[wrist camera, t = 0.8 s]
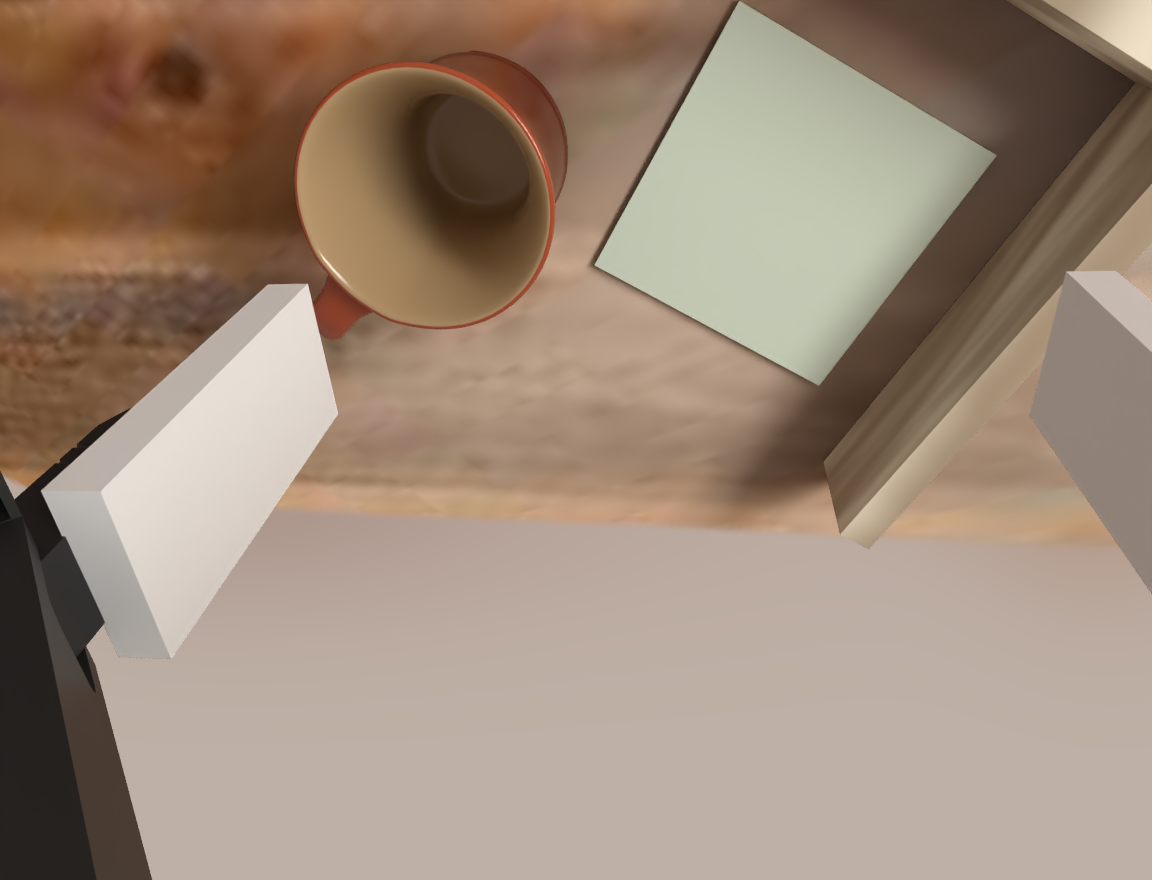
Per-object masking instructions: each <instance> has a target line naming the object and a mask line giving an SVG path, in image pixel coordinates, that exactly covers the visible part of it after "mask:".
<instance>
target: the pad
mask: <svg viewBox="0 0 1152 880" xmlns="http://www.w3.org/2000/svg"><path fill="white" fill-rule="evenodd" d="M996 156H997V155H995V154H994V153H992V152H991V151H989V150H987V149H986V148H984V147H982V146H981V145H979V144H977V143H976V142H974V141H972V140H971V139H969V138H967V137H966V136H964V135H962V134H961V133H959V132H957V131H956V130H954V129H952V128H951V127H949V126H947V125H946V124H944V123H942V122H941V121H939V120H937V119H936V118H934V117H932V116H931V115H929V114H927V113H926V112H924V111H922V110H921V109H919V108H917V107H916V106H914V105H912V104H911V103H909V102H907V101H906V100H904V99H902V98H901V97H899V96H897V95H896V94H894V93H893V92H891V91H889V90H888V89H886V88H884V87H883V86H881V85H879V84H878V83H876V82H874V81H873V80H871V79H869V78H868V77H866V76H864V75H863V74H861V73H859V72H858V71H856V70H854V69H853V68H851V67H849V66H848V65H846V64H844V63H843V62H841V61H839V60H838V59H836V58H834V57H833V56H831V55H829V54H828V53H826V52H824V51H823V50H821V49H819V48H818V47H816V46H814V45H813V44H811V43H809V42H808V41H806V40H804V39H803V38H801V37H799V36H798V35H796V34H794V33H793V32H791V31H789V30H788V29H786V28H784V27H783V26H781V25H779V24H778V23H776V22H774V21H773V20H771V19H769V18H768V17H766V16H764V15H763V14H761V13H759V12H758V11H756V10H754V9H753V8H751V7H749V6H748V5H746V4H744V3H743V2H741V1H738V3H737V5H736V7H735V9H734V10H733V12H732V14H731V16H730V18H729V20H728V21H727V23H726V25H725V27H724V29H723V31H722V32H721V34H720V36H719V38H718V40H717V41H716V43H715V45H714V47H713V49H712V51H711V52H710V54H709V56H708V58H707V60H706V62H705V63H704V65H703V67H702V69H701V71H700V73H699V74H698V76H697V78H696V80H695V82H694V83H693V85H692V87H691V89H690V91H689V93H688V94H687V96H686V98H685V100H684V102H683V104H682V105H681V107H680V109H679V111H678V113H677V115H676V116H675V118H674V120H673V122H672V124H671V125H670V127H669V129H668V131H667V133H666V135H665V136H664V138H663V140H662V142H661V144H660V146H659V147H658V149H657V151H656V153H655V155H654V157H653V158H652V160H651V162H650V164H649V166H648V167H647V169H646V171H645V173H644V175H643V177H642V178H641V180H640V182H639V184H638V186H637V188H636V189H635V191H634V193H633V195H632V197H631V199H630V200H629V202H628V204H627V206H626V208H625V209H624V211H623V213H622V215H621V217H620V219H619V220H618V222H617V224H616V226H615V228H614V230H613V231H612V233H611V235H610V237H609V239H608V241H607V242H606V244H605V246H604V248H603V250H602V251H601V253H600V255H599V257H598V259H597V261H596V262H595V266H597V267H598V268H600V269H602V270H604V271H606V272H608V273H610V274H611V275H613V276H615V277H617V278H619V279H621V280H623V281H625V282H626V283H628V284H630V285H632V286H634V287H636V288H638V289H639V290H641V291H643V292H645V293H647V294H649V295H651V296H652V297H654V298H656V299H658V300H660V301H662V302H664V303H666V304H667V305H669V306H671V307H673V308H675V309H677V310H679V311H680V312H682V313H684V314H686V315H688V316H690V317H692V318H693V319H695V320H697V321H699V322H701V323H703V324H705V325H707V326H708V327H710V328H712V329H714V330H716V331H718V332H720V333H721V334H723V335H725V336H727V337H729V338H731V339H733V340H734V341H736V342H738V343H740V344H742V345H744V346H746V347H748V348H749V349H751V350H753V351H755V352H757V353H759V354H761V355H762V356H764V357H766V358H768V359H770V360H772V361H774V362H775V363H777V364H779V365H781V366H783V367H785V368H787V369H789V370H790V371H792V372H794V373H796V374H798V375H800V376H802V377H803V378H805V379H807V380H809V381H811V382H813V383H815V384H816V385H818V386H819V385H820V384H821V383H822V381H823V380H824V379H825V377H826V376H827V375H828V374H829V372H830V371H831V370H832V368H833V367H834V366H835V365H836V363H837V362H838V361H839V359H840V358H841V357H842V355H843V354H844V353H845V352H846V350H847V349H848V348H849V346H850V345H851V344H852V342H853V341H854V340H855V339H856V337H857V336H858V335H859V333H860V332H861V331H862V330H863V328H864V327H865V326H866V324H867V323H868V322H869V320H870V319H871V318H872V317H873V315H874V314H875V313H876V311H877V310H878V309H879V307H880V306H881V305H882V304H883V302H884V301H885V300H886V298H887V297H888V296H889V295H890V293H891V292H892V291H893V289H894V288H895V287H896V285H897V284H898V283H899V282H900V280H901V279H902V278H903V276H904V275H905V274H906V272H907V271H908V270H909V269H910V267H911V266H912V265H913V263H914V262H915V261H916V259H917V258H918V257H919V256H920V254H921V253H922V252H923V250H924V249H925V248H926V247H927V245H928V244H929V243H930V241H931V240H932V239H933V237H934V236H935V235H936V234H937V232H938V231H939V230H940V228H941V227H942V226H943V224H944V223H945V222H946V221H947V219H948V218H949V217H950V215H951V214H952V213H953V212H954V210H955V209H956V208H957V206H958V205H959V204H960V202H961V201H962V200H963V199H964V197H965V196H966V195H967V193H968V192H969V191H970V189H971V188H972V187H973V186H974V184H975V183H976V182H977V180H978V179H979V178H980V176H981V175H982V174H983V173H984V171H985V170H986V169H987V167H988V166H989V165H990V164H991V162H992V161H993V160H994V158H995V157H996Z"/></svg>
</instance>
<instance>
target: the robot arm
mask: <svg viewBox="0 0 1152 880" xmlns="http://www.w3.org/2000/svg"><path fill="white" fill-rule="evenodd" d="M337 415H338V411H337V407H336V403H335V399H334V394H333V390H332V386H331V381H330V377H329V373H328V368H327V364H326V360H325V356H324V351H323V347H322V343H321V338H320V334H319V330H318V325H317V321H316V317H315V313H314V308H313V304H312V300H311V295H310V291H309V287H308V284H268V285H267V286H266V287H265V288H264V289H263V290H261V291H260V292H259V293H258V294H257V295H256V296H255V297H254V298H253V299H252V300H250V301H249V302H248V303H247V304H246V305H245V306H244V307H243V308H242V309H240V310H239V311H238V312H237V313H236V314H235V315H234V316H233V317H232V318H231V319H229V320H228V321H227V322H226V323H225V324H224V325H223V326H222V327H221V328H220V329H218V330H217V331H216V332H215V333H214V334H213V335H212V336H211V337H210V338H209V339H207V340H206V341H205V342H204V343H203V344H202V345H201V346H200V347H199V348H198V349H196V350H195V351H194V352H193V353H192V354H191V355H190V356H189V357H188V358H187V359H185V360H184V361H183V362H182V363H181V364H180V365H179V366H178V367H177V368H176V369H174V370H173V371H172V372H171V373H170V374H169V375H168V376H167V377H166V378H165V379H163V380H162V381H161V382H160V383H159V384H158V385H157V386H156V387H155V388H154V389H152V390H151V391H150V392H149V393H148V394H147V395H146V396H145V397H144V398H142V399H141V400H140V401H139V402H138V403H137V404H136V405H135V406H134V407H133V408H131V409H128V410H126V411H124V412H122V413H120V414H118V415H116V416H115V417H113V418H111V419H109V420H107V421H105V422H103V423H102V424H100V425H98V426H97V427H96V428H95V429H94V430H92V431H91V432H90V433H89V434H88V435H87V436H86V437H85V438H83V439H82V440H81V441H80V442H79V443H78V444H77V448H72V449H71V450H70V451H69V452H68V453H66V454H65V455H64V456H63V457H62V458H61V459H60V463H55V464H54V465H53V466H52V467H51V468H49V469H48V470H47V471H46V472H45V473H44V474H43V475H42V476H40V477H39V478H38V479H37V480H36V481H35V482H34V483H33V484H31V485H30V486H29V487H28V488H27V489H26V490H25V491H24V492H22V493H21V494H20V495H19V496H18V497H17V498H16V499H14V498H13V496H12V494H11V492H10V490H9V488H8V486H7V484H6V482H5V480H4V477H3V475H2V473H1V471H0V880H152V878H151V874H150V870H149V866H148V862H147V859H146V855H145V852H144V847H143V844H142V840H141V836H140V832H139V829H138V825H137V821H136V817H135V814H134V810H133V806H132V802H131V799H130V795H129V791H128V787H127V783H126V780H125V776H124V772H123V768H122V764H121V760H120V757H119V753H118V750H117V746H116V742H115V738H114V734H113V730H112V726H111V723H110V719H109V715H108V711H107V708H106V704H105V700H104V696H103V692H102V689H101V685H100V681H99V677H98V674H97V670H96V666H95V664H94V662H93V659H92V657H91V655H90V653H89V651H88V649H87V647H86V645H87V644H88V643H89V642H90V640H91V639H92V638H93V637H94V635H95V634H96V633H97V632H98V630H99V629H100V628H101V627H102V626H103V625H104V627H105V629H106V632H107V634H108V636H109V638H110V640H111V642H112V644H113V646H114V649H115V651H116V653H117V655H118V657H127V658H153V659H172V657H173V656H174V654H175V653H176V651H177V650H178V649H179V647H180V646H181V644H182V643H183V641H184V640H185V638H186V636H187V635H188V634H189V632H190V631H191V629H192V628H193V626H194V625H195V624H196V622H197V620H198V619H199V618H200V616H201V615H202V613H203V612H204V610H205V609H206V607H207V606H208V604H209V603H210V602H211V600H212V598H213V597H214V595H215V594H216V593H217V591H218V590H219V588H220V586H221V585H222V584H223V582H224V581H225V579H226V578H227V577H228V575H229V574H230V572H231V571H232V569H233V568H234V566H235V565H236V563H237V562H238V560H239V559H240V557H241V556H242V554H243V553H244V551H245V550H246V549H247V547H248V546H249V544H250V543H251V541H252V540H253V538H254V537H255V535H256V534H257V532H258V531H259V529H260V528H261V527H262V525H263V523H264V522H265V521H266V519H267V518H268V516H269V515H270V513H271V512H272V510H273V509H274V507H275V506H276V504H277V503H278V502H279V500H280V499H281V497H282V496H283V494H284V493H285V491H286V490H287V488H288V487H289V485H290V484H291V482H292V481H293V480H294V478H295V477H296V475H297V474H298V472H299V471H300V469H301V468H302V466H303V465H304V463H305V462H306V460H307V459H308V457H309V456H310V455H311V453H312V452H313V450H314V449H315V447H316V446H317V444H318V443H319V441H320V440H321V438H322V437H323V435H324V434H325V432H326V431H327V430H328V428H329V427H330V425H331V424H332V422H333V421H334V419H335V418H336V416H337ZM1030 417H1031V419H1032V420H1033V422H1034V423H1035V424H1036V426H1037V427H1038V429H1039V430H1040V432H1041V433H1042V435H1043V436H1044V438H1045V439H1046V441H1047V442H1048V443H1049V445H1050V446H1051V448H1052V449H1053V451H1054V452H1055V454H1056V455H1057V457H1058V458H1059V459H1060V461H1061V462H1062V464H1063V465H1064V467H1065V468H1066V470H1067V471H1068V473H1069V474H1070V476H1071V477H1072V478H1073V480H1074V481H1075V483H1076V484H1077V486H1078V487H1079V489H1080V490H1081V492H1082V493H1083V494H1084V496H1085V497H1086V499H1087V500H1088V502H1089V503H1090V505H1091V506H1092V508H1093V509H1094V511H1095V512H1096V513H1097V515H1098V516H1099V518H1100V519H1101V521H1102V522H1103V524H1104V525H1105V527H1106V528H1107V530H1108V531H1109V532H1110V534H1111V535H1112V537H1113V538H1114V540H1115V541H1116V543H1117V544H1118V546H1119V547H1120V548H1121V550H1122V551H1123V553H1124V554H1125V556H1126V557H1127V559H1128V560H1129V562H1130V563H1131V564H1132V566H1133V567H1134V569H1135V570H1136V572H1137V573H1138V575H1139V576H1140V578H1141V579H1142V581H1143V582H1144V583H1145V585H1146V586H1147V588H1148V589H1149V591H1150V592H1151V593H1152V301H1151V300H1150V299H1149V298H1148V297H1146V296H1145V295H1144V294H1143V293H1142V292H1140V291H1139V290H1138V289H1137V288H1136V287H1134V286H1133V285H1132V284H1131V283H1130V282H1128V281H1127V280H1126V279H1125V278H1124V277H1122V276H1121V275H1120V274H1119V273H1118V272H1117V271H1066V274H1065V278H1064V282H1063V286H1062V290H1061V294H1060V298H1059V302H1058V306H1057V310H1056V313H1055V317H1054V321H1053V325H1052V329H1051V333H1050V337H1049V341H1048V345H1047V349H1046V353H1045V357H1044V361H1043V365H1042V369H1041V373H1040V377H1039V381H1038V385H1037V389H1036V393H1035V397H1034V400H1033V404H1032V408H1031V412H1030Z"/></svg>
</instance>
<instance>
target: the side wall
mask: <svg viewBox="0 0 1152 880" xmlns="http://www.w3.org/2000/svg"><path fill="white" fill-rule="evenodd" d="M1006 1H1008V2H1009V3H1011V4H1013V5H1014V6H1016V7H1017V8H1019V9H1021V10H1022V11H1024V12H1025V13H1027V14H1028V15H1030V16H1032V17H1033V18H1035V19H1036V20H1038V21H1040V22H1041V23H1043V24H1044V25H1046V26H1047V27H1049V28H1051V29H1052V30H1054V31H1055V32H1057V33H1059V34H1060V35H1062V36H1063V37H1065V38H1066V39H1068V40H1070V41H1071V42H1073V43H1074V44H1076V45H1077V46H1079V47H1081V48H1082V49H1084V50H1085V51H1087V52H1089V53H1090V54H1092V55H1093V56H1095V57H1096V58H1098V59H1100V60H1101V61H1103V62H1104V63H1106V64H1108V65H1109V66H1111V67H1112V68H1114V69H1115V70H1117V71H1119V72H1120V73H1122V74H1123V75H1125V76H1126V77H1128V78H1130V79H1131V80H1133V81H1134V82H1136V83H1139V84H1142V85H1145V86H1148V87H1150V88H1152V0H1006Z"/></svg>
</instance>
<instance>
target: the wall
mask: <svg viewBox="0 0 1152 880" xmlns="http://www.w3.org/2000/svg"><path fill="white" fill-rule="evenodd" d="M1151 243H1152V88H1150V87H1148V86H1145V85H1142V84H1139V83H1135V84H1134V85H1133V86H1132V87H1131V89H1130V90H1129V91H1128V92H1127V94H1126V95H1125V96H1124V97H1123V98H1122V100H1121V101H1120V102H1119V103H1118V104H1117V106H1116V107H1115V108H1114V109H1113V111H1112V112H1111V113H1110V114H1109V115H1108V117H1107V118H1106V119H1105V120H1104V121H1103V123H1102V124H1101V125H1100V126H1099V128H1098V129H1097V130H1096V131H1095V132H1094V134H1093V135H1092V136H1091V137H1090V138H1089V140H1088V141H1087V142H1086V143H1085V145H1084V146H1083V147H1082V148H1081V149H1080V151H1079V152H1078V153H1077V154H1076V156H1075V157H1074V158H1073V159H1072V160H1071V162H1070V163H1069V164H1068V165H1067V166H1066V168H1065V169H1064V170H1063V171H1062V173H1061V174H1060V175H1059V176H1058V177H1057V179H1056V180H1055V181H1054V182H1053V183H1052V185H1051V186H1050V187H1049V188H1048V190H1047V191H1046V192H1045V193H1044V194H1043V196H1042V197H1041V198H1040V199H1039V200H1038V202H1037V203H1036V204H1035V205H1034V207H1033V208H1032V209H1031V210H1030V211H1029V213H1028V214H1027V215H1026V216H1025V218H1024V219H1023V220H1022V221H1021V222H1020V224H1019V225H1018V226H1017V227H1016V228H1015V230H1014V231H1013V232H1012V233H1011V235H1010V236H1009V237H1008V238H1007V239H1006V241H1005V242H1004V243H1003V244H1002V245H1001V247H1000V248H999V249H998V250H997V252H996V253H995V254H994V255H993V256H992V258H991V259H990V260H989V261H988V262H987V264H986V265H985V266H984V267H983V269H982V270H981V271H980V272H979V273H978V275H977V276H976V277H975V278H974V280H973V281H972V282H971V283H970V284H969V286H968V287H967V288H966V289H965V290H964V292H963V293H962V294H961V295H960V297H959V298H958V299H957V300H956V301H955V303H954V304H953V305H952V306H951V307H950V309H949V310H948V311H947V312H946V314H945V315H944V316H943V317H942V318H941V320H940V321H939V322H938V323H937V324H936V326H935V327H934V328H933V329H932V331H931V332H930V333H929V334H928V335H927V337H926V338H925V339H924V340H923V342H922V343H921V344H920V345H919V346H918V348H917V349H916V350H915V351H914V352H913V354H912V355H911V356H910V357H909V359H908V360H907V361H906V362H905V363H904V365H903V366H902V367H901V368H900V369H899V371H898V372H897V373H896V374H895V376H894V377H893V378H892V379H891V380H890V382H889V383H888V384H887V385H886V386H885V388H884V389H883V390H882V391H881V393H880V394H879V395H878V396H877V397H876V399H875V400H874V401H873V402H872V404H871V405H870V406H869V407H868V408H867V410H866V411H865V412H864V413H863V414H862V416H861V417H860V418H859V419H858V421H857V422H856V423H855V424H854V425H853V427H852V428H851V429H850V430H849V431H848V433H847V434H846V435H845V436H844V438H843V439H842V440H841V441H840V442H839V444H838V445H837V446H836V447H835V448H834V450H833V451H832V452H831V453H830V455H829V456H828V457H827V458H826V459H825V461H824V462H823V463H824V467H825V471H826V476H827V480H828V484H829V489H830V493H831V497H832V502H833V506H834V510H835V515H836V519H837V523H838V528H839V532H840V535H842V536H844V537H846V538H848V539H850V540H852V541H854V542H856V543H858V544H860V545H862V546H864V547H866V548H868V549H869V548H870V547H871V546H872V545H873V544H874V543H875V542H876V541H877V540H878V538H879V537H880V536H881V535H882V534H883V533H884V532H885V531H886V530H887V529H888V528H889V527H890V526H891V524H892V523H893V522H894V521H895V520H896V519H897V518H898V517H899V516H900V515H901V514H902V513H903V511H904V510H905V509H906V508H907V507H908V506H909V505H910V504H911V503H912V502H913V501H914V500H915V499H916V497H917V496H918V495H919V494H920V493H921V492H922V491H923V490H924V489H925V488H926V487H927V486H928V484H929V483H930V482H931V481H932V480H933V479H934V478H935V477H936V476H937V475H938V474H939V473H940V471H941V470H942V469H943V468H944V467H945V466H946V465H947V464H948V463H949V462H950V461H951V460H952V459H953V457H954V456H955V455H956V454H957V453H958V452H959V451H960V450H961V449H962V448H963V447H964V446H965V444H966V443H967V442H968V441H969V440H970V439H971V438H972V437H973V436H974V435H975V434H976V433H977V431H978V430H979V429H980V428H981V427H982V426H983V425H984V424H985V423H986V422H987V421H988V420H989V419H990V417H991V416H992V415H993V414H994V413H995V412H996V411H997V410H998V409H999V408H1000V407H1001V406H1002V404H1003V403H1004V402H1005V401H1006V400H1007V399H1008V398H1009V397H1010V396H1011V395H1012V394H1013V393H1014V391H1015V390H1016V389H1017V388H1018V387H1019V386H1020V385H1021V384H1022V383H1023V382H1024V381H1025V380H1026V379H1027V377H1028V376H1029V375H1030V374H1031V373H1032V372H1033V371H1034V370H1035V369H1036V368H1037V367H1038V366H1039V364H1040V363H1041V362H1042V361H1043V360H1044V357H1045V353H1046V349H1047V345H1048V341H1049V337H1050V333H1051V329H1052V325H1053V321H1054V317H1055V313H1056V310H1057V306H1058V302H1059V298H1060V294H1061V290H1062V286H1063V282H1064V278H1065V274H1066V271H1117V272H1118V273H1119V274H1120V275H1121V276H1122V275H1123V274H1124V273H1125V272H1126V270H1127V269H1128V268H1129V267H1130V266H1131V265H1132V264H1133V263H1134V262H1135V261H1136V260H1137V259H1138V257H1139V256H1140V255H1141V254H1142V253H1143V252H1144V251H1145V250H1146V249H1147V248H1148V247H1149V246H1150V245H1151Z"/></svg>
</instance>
